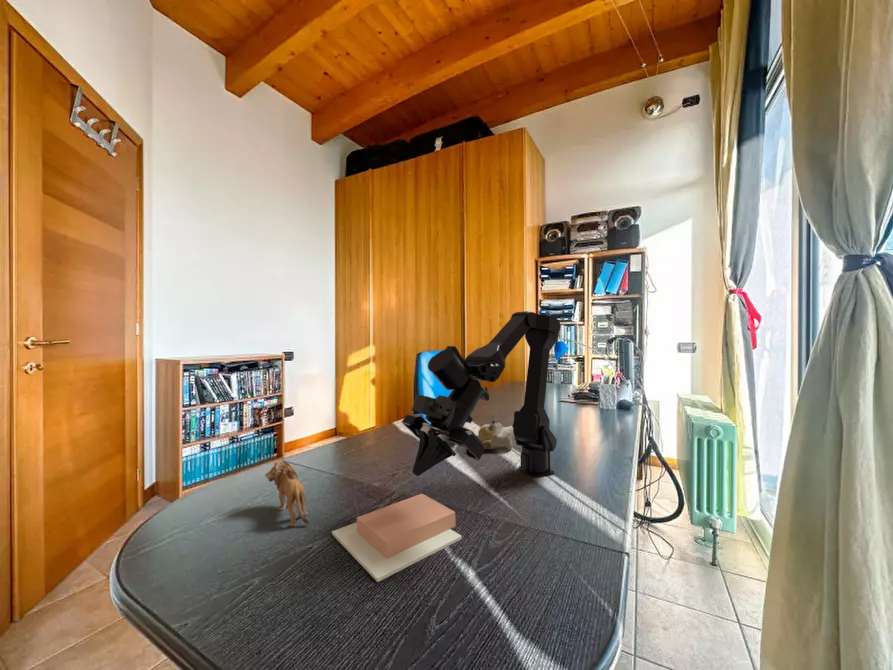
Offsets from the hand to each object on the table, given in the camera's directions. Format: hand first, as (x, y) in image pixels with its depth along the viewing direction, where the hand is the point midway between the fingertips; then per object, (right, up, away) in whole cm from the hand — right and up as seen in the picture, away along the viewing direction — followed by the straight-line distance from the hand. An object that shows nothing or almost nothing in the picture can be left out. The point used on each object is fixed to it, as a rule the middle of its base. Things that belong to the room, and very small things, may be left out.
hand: (414, 474), depth 64 cm
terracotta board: (+4, -8, +3) cm, 9 cm away
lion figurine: (-25, -10, +6) cm, 28 cm away
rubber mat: (-3, -10, -3) cm, 10 cm away
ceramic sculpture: (+20, -10, +44) cm, 49 cm away
